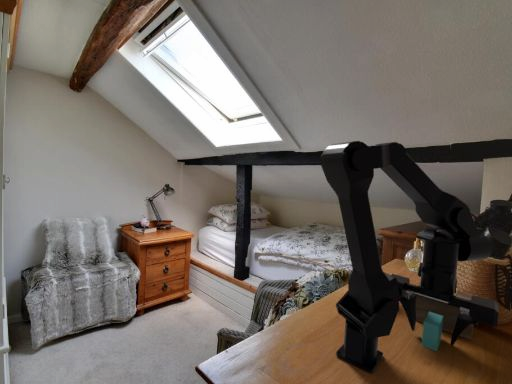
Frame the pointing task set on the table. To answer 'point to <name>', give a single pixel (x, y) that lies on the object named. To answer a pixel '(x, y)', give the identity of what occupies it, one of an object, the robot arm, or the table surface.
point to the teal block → (432, 331)
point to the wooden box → (443, 313)
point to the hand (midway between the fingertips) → (431, 337)
